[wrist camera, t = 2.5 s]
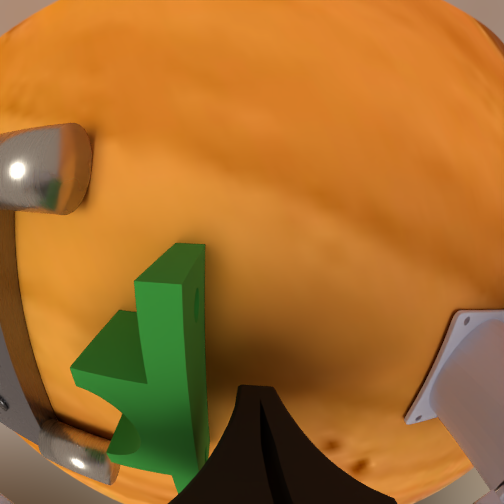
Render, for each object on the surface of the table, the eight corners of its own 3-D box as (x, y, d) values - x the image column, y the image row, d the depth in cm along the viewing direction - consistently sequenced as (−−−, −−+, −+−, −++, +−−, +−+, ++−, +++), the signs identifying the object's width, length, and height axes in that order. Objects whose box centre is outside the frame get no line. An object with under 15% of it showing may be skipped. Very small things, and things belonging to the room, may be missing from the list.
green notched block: (115, 238, 10) (47, 270, 6) (206, 242, 10) (182, 282, 6) (146, 432, 12) (128, 492, 8) (210, 440, 13) (205, 505, 8)
